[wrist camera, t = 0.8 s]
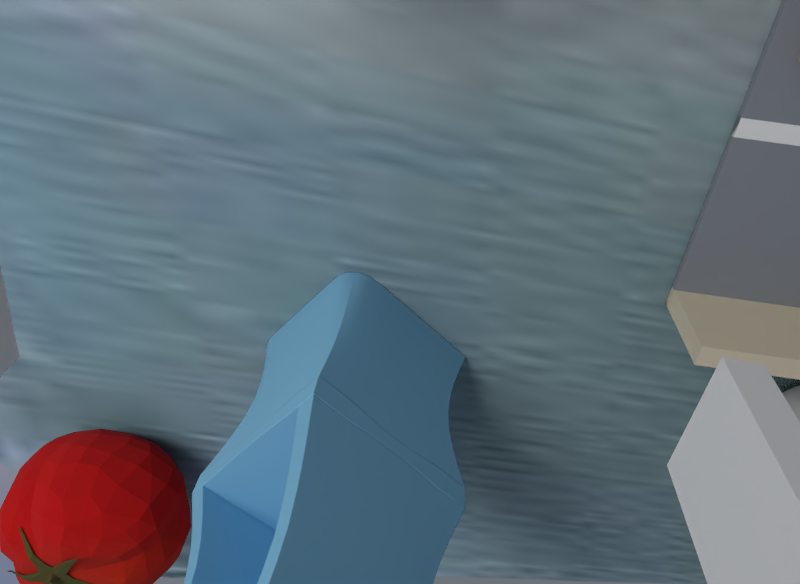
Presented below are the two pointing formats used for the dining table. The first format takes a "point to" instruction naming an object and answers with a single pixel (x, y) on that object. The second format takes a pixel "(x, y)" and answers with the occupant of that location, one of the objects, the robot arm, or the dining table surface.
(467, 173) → the dining table surface
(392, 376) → the vase
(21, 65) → the dining table surface
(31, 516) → the tomato
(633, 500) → the dining table surface
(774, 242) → the runway
